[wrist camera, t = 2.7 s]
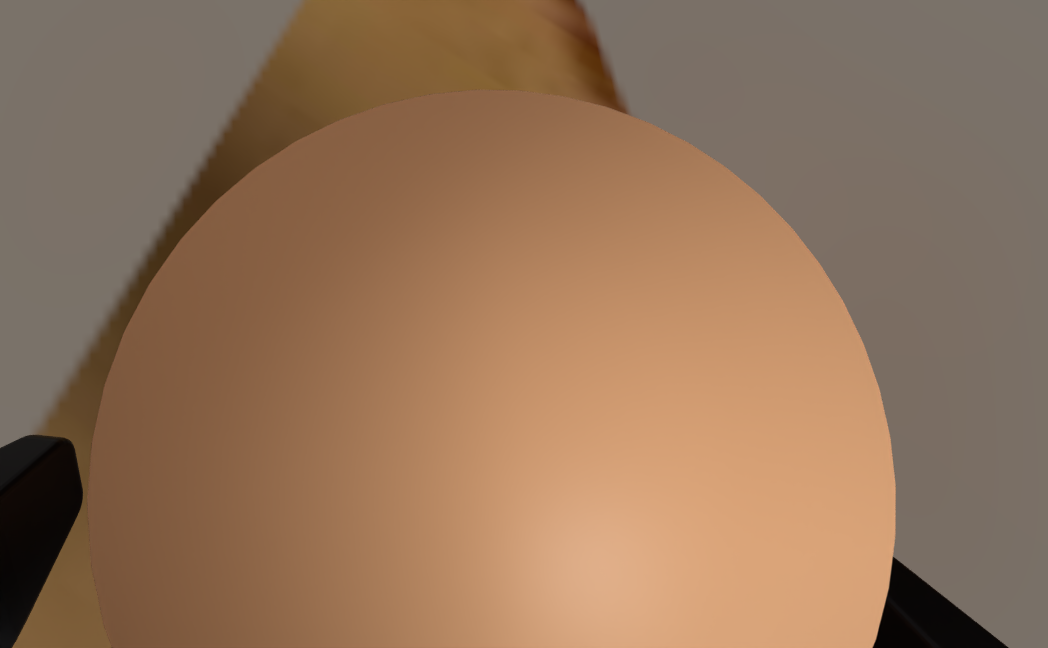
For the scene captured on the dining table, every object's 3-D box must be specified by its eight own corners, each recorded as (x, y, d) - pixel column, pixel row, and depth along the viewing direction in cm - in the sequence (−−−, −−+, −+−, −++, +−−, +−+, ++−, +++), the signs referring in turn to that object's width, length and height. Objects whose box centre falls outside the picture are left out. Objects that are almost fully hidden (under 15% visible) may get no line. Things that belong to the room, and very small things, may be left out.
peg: (552, 557, 16) (1017, 721, 4) (370, 617, 15) (164, 1118, 3) (503, 383, 17) (740, 45, 5) (328, 429, 16) (36, 156, 4)
